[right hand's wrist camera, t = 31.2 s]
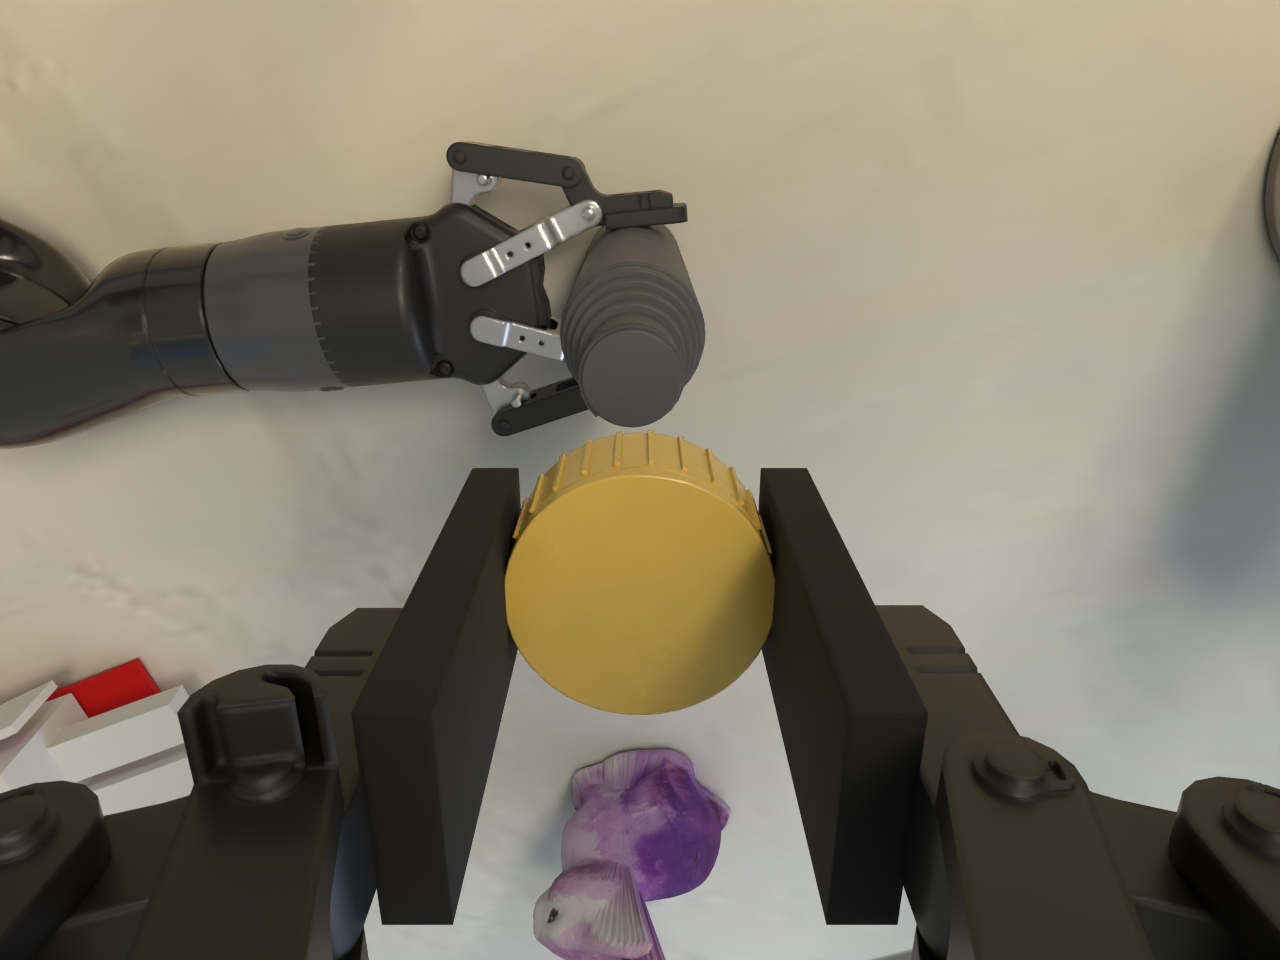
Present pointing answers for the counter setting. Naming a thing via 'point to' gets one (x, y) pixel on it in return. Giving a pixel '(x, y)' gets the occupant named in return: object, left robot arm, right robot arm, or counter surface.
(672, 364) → the bottle
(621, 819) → the figurine
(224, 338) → the left robot arm
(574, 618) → the cap
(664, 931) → the counter surface
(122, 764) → the toy
